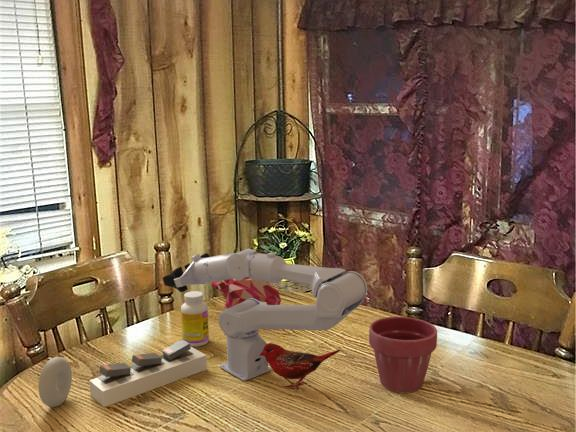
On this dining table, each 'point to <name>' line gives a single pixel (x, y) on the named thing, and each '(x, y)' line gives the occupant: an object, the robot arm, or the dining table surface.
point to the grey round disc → (55, 381)
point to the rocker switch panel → (146, 377)
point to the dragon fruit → (247, 291)
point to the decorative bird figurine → (292, 362)
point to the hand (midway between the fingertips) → (175, 275)
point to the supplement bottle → (194, 319)
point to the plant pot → (402, 351)
